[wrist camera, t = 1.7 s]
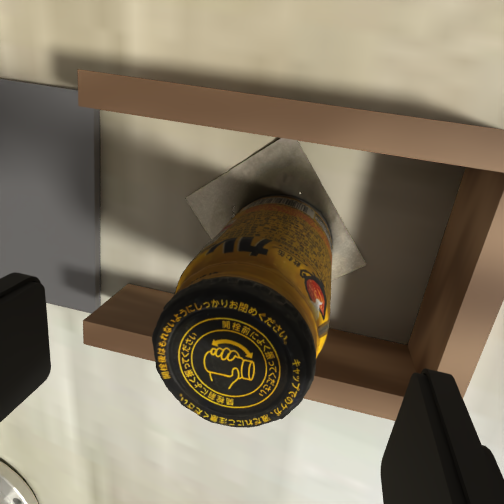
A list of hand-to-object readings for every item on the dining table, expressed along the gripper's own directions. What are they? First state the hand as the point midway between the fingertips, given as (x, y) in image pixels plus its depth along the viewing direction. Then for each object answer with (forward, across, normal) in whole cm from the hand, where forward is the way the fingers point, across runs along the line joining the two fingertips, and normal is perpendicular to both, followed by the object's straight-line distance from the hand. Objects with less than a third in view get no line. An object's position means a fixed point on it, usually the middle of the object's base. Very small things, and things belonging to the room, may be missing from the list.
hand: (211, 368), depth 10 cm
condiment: (+14, +1, +1) cm, 14 cm away
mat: (+14, +18, +2) cm, 23 cm away
